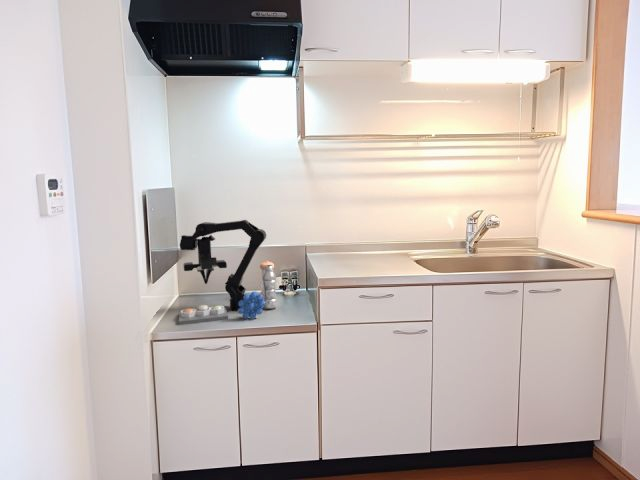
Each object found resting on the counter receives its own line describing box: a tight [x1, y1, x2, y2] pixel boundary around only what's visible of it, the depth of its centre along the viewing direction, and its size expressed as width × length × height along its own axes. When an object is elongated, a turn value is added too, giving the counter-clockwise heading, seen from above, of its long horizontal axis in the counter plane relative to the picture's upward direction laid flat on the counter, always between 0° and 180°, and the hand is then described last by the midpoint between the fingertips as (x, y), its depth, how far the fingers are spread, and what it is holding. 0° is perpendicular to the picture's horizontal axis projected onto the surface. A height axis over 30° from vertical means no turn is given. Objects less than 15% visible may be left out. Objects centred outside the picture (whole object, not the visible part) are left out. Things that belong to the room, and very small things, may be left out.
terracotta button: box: [183, 307, 194, 313], centre depth 187 cm, size 4×4×2 cm
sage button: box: [211, 304, 223, 310], centre depth 190 cm, size 4×4×2 cm
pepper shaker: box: [259, 260, 275, 300], centre depth 214 cm, size 7×7×19 cm
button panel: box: [178, 305, 229, 326], centre depth 189 cm, size 20×14×4 cm
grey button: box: [197, 304, 209, 311], centre depth 188 cm, size 4×4×2 cm
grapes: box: [237, 290, 265, 320], centre depth 185 cm, size 12×7×12 cm, turn 99°
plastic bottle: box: [261, 265, 278, 310], centre depth 198 cm, size 6×7×20 cm
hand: (206, 283), depth 199 cm, fingers closed
